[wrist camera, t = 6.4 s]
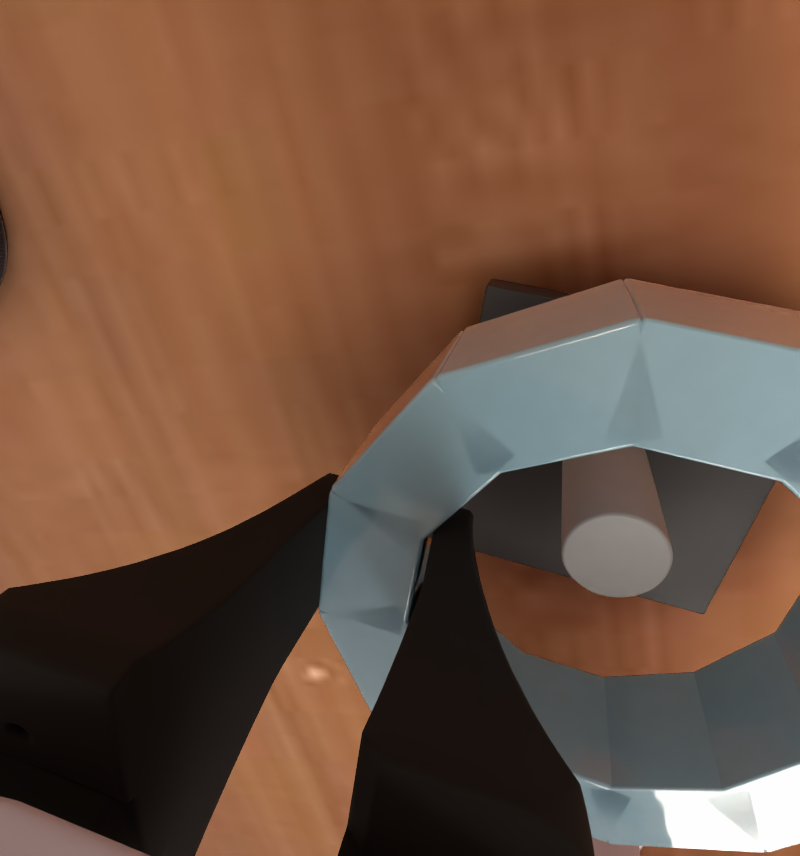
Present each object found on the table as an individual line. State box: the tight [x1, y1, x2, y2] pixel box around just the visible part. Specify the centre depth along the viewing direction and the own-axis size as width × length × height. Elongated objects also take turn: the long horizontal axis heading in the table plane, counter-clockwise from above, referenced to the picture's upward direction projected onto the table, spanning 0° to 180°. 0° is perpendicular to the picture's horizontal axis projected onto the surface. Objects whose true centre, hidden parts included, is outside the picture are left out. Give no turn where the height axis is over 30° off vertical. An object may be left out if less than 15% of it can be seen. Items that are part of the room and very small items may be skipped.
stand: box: [461, 279, 776, 614], centre depth 15 cm, size 9×9×6 cm
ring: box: [318, 278, 800, 853], centre depth 12 cm, size 12×12×3 cm
